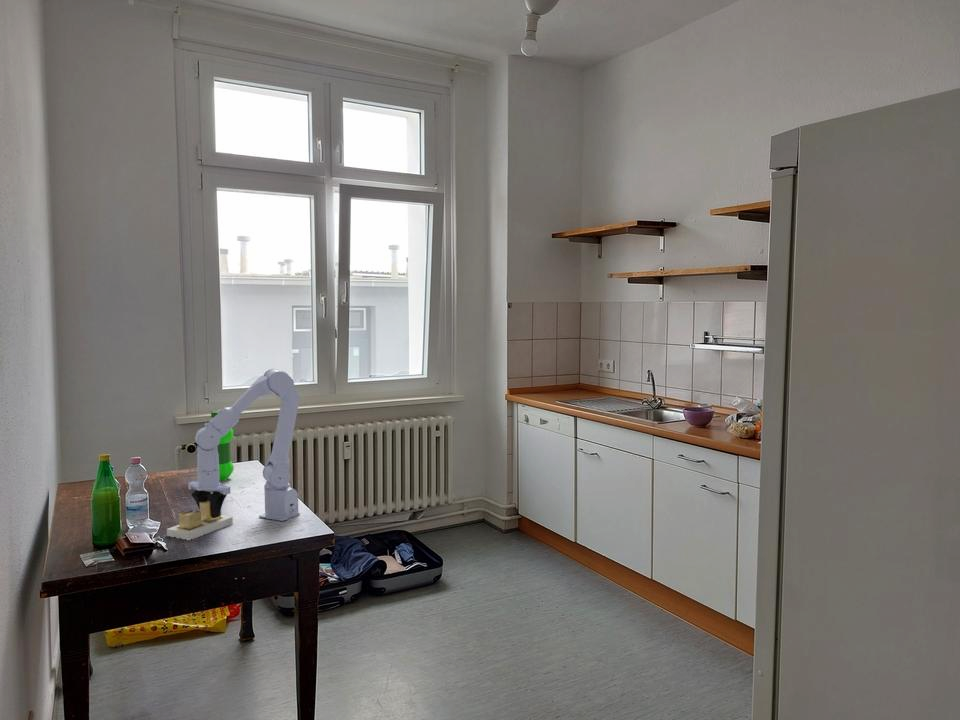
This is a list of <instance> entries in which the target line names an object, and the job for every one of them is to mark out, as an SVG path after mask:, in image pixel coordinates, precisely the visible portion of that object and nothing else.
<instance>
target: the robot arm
mask: <svg viewBox="0 0 960 720" xmlns="http://www.w3.org/2000/svg"><path fill="white" fill-rule="evenodd" d="M272 393H274V394H275V396H276V397H277V398H278V399H279V400H280V402H281V404H280V408H279V414H278V419H277V424H276V429H275V433H274V434H275V435H274V439H273V444H272V449H271V453H270V455H269V457H268V460H267V463H266V464H265V465H264V467H263V469H262V476H263V477H262V478H263V479H264V480H265V481H266V482H265V483H264V487H263V488H264V489H263V490H264V491H263V492H264V493H263V494H264V513H262V514H260V515H258V518H263V519H268V520H274V521H281V522H284V521H287V520H289V519H292V518H294V517H296V516H298V514H299V515H300V514H301V512H300V511H299V494H298V492H297V490H296V489H294V488H292V487H291V486H290V481H291V473H290V463H291V462H290V453H291V452H290V451H291V446H292V441H293V436H294V431H295V426H296V421H297V415H298V409H299V405H300V396H299V394H298V390H297V388H296V385H295V381H294V379H293V378H292V377H291V376H290V375H289V374H288V373H287V372H285V371H284V370H283V371H282V370H279V369H277V368H271V369H268V370H266V372H264V373H263V375H261V376H259V377H258V378H257V379H256V380H255V381H254V382H253V383H252V384H251V385H250V386H249V387H248V389H246V390H245V392H244V393H242V395H240V397H239V398H238V399H237V400H236V401H235V402H234V403H233V404H232V405H231V406H230V407H227V406H226V407H223V408H222V409H218V410H216V411H217V412H216V413H217V415H216V416H215V417H214V418H211V420H210V421H209V422H205V423H204V427H201V428H200V429H198V430H197V431H196V434H195V436H194V441H195V443H196V444H197V447H196V452H197V454H196V460H197V461H196V463H197V464H196V465H197V481H190V482H188V483H187V488H188V490H191V491H192V490H195V491H194V492H191V497H192V498H193V499H194V501H195V502H196V505H197V508H198V511H200V503H199V502H202V501H204V500H209V502H210V506H211V513H212V517H213V518H216V517H219V516H220V511H221V512H222V507H223V504H224V501H225V499H226V497H227V495H230V494H231V493H232V492H231V486H229V485H225V484H223V483H221V481H219V455H218V448H217V446H218V445H219V442H220V438H221V437H223V436H224V435H225V434H226V433H227V432H228V431H229V430H230V429H231V428H232V429H233V428H234V427H235V426H236V425H237V424H238V423H239V422H240V415H241V414H242V413H243V412H244V411H245V410H246V409H248V408H249V407H250V406H251V405H252V404H253V403H254V402H255V401H256V400H257V399H258V398H259V397H261V396H267V395H270V394H272ZM293 516H294V517H293ZM286 519H287V520H286Z"/></svg>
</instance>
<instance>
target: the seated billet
mask: <svg viewBox="0 0 960 720" xmlns="http://www.w3.org/2000/svg"><path fill="white" fill-rule="evenodd" d="M178 523H179V524H178V525H179V529H183V530H188V531H190V530H193V529H196V528H198V527H201V511H199V510H194V509H188V510H185V511H182V512H180V513H178Z"/></svg>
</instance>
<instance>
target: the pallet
mask: <svg viewBox="0 0 960 720" xmlns="http://www.w3.org/2000/svg"><path fill="white" fill-rule="evenodd" d="M233 522H234V519H233V516H229V515H223V514H221V519H220V520H217V521H215V522H212V523H205V522H201V527H198V528H196V529H193V530H190V531H188V530H183V529H179V524H177V525H173V526H171V527H169V528H166V536H167V537H169V536H170V538H174V537H176V538H175V539H180V538H181V540H185V539H186V540H185V541H191V539H192V540H194V539H197V538H199V537H202V536H204V534H205V535H207V534H209V533H212V532H214V531H217V530H220V529H222V528H225V527H228V526H230V525H232V524H234V523H233Z"/></svg>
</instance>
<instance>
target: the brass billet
mask: <svg viewBox="0 0 960 720" xmlns="http://www.w3.org/2000/svg"><path fill="white" fill-rule="evenodd" d="M199 503H200V511H201V522H205V523H212V522H215V521H217V520H220V519H221V515H222V510H221V511H220V516H219V517H216V518H213V517H212V513H211V506H210V502H209V500H204V501H202V502H199Z"/></svg>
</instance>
